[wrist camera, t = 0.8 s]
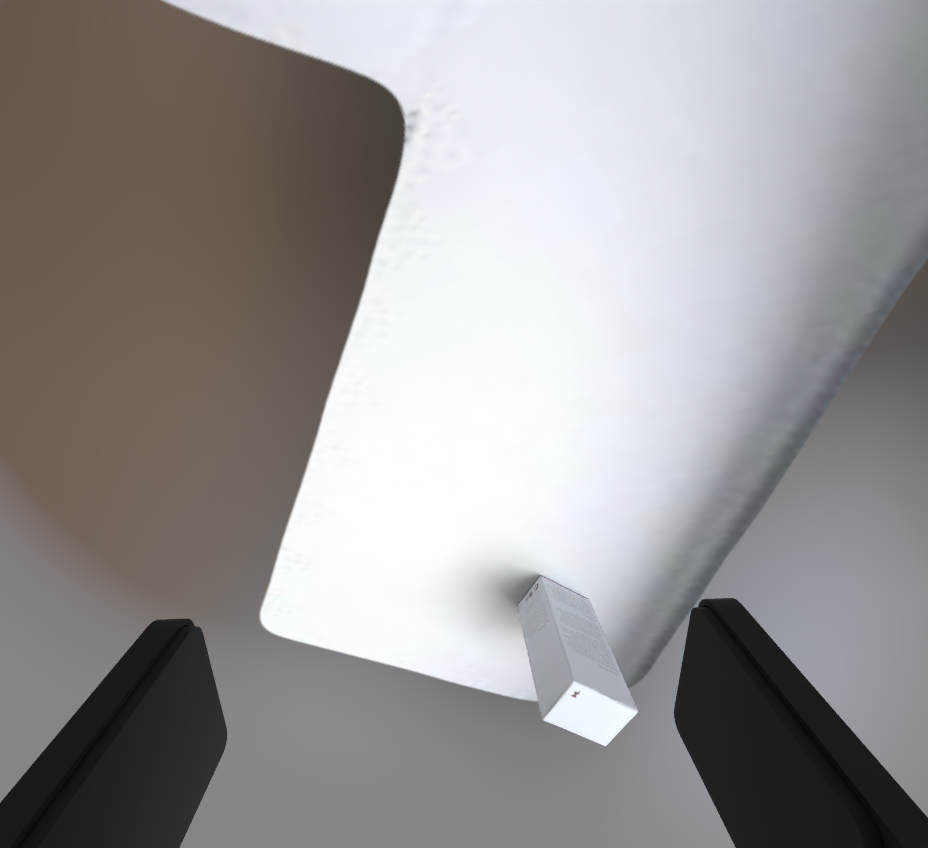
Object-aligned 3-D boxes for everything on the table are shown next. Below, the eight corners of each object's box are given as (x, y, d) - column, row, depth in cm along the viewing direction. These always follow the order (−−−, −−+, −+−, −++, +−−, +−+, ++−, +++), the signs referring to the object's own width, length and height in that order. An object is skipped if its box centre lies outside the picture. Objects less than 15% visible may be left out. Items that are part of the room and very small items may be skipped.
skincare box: (515, 606, 45) (539, 720, 33) (540, 573, 44) (573, 679, 32) (566, 631, 46) (606, 749, 34) (591, 599, 45) (641, 711, 33)
